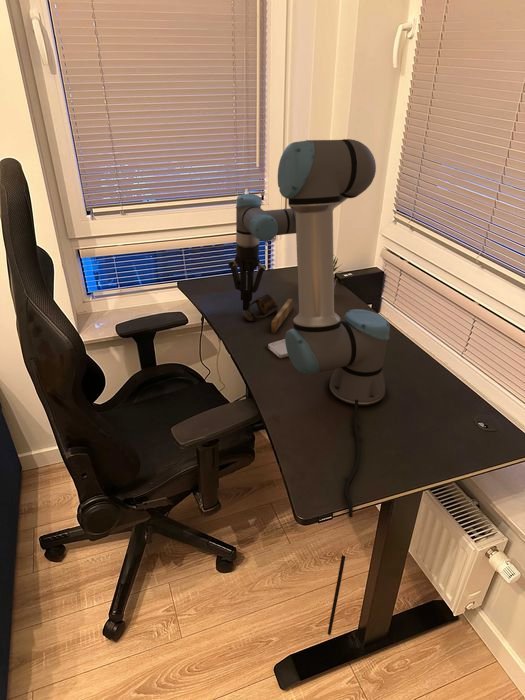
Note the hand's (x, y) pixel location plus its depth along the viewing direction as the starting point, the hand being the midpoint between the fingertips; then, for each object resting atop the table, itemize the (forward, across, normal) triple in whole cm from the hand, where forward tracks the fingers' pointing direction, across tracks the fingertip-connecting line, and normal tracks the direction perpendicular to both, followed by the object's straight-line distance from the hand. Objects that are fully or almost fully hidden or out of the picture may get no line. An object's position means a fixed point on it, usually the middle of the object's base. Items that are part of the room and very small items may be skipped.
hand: (246, 308), depth 175 cm
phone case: (+2, -22, +15) cm, 27 cm away
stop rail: (+2, -13, 0) cm, 13 cm away
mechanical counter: (+2, -5, -1) cm, 5 cm away
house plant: (+2, -21, -26) cm, 34 cm away
